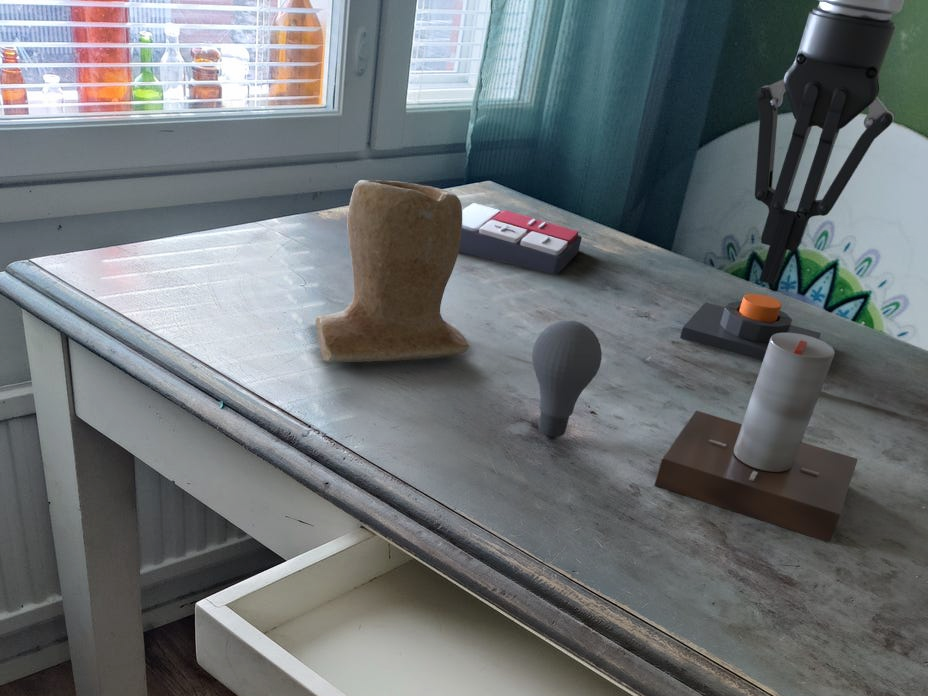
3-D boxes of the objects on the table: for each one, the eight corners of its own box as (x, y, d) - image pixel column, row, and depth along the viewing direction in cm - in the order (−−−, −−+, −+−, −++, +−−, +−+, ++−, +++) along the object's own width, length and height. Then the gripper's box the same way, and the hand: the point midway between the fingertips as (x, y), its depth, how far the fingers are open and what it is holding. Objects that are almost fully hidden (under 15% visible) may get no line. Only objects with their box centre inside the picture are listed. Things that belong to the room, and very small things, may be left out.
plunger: (779, 316, 105) (784, 300, 104) (772, 327, 102) (778, 310, 101) (742, 307, 106) (747, 290, 105) (734, 317, 103) (739, 300, 102)
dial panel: (846, 484, 83) (858, 456, 82) (828, 542, 75) (841, 512, 74) (688, 435, 87) (696, 408, 86) (654, 485, 79) (662, 456, 78)
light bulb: (535, 416, 87) (557, 304, 80) (592, 437, 85) (619, 323, 79) (506, 437, 83) (526, 321, 77) (565, 460, 81) (591, 342, 75)
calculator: (562, 251, 114) (441, 216, 116) (553, 288, 116) (436, 253, 119) (584, 229, 122) (472, 197, 125) (575, 264, 125) (465, 232, 127)
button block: (814, 352, 108) (827, 316, 106) (799, 381, 101) (812, 344, 98) (699, 321, 112) (709, 285, 109) (677, 347, 104) (687, 310, 102)
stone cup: (431, 322, 101) (448, 165, 92) (480, 370, 93) (504, 203, 84) (288, 328, 96) (291, 161, 86) (327, 380, 87) (335, 202, 78)
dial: (740, 438, 82) (778, 323, 76) (797, 455, 81) (840, 340, 75) (727, 459, 79) (766, 341, 73) (786, 478, 77) (831, 359, 71)
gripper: (774, -1, 86) (698, 272, 101) (927, 27, 83) (826, 305, 97) (789, -4, 92) (715, 255, 106) (933, 22, 88) (836, 286, 103)
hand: (768, 279), depth 102 cm, fingers closed
